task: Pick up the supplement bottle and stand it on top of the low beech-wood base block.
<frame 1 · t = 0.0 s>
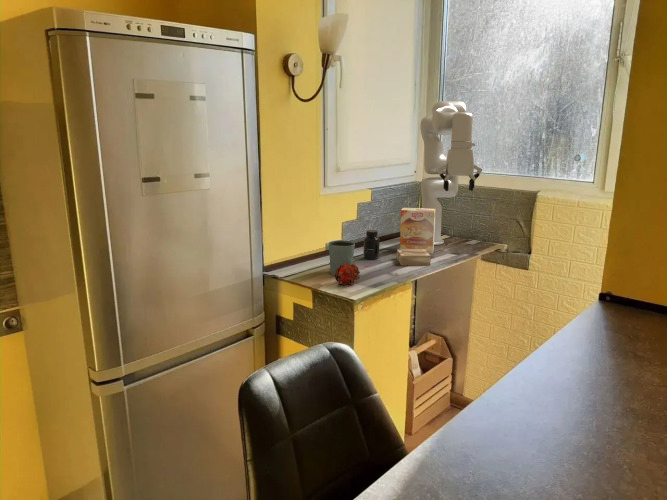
hand: (458, 190, 204), 31 cm above the countertop, tool pointing down, fingers open, 9 cm apart
coffeecake box: (416, 251, 238), on the countertop
dragon fruit: (346, 284, 190), on the countertop
base: (413, 261, 220), on the countertop
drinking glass: (341, 273, 205), on the countertop
supplement bottle: (371, 258, 226), on the countertop
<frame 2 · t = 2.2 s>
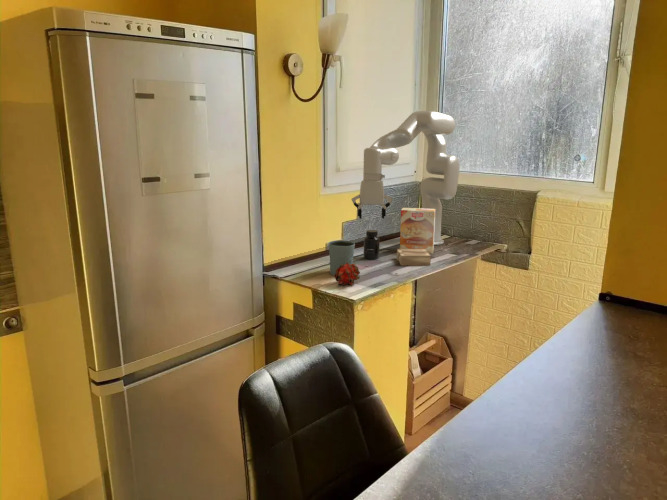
hand: (371, 218, 222), 18 cm above the countertop, tool pointing down, fingers open, 9 cm apart
nothing on the countertop moved.
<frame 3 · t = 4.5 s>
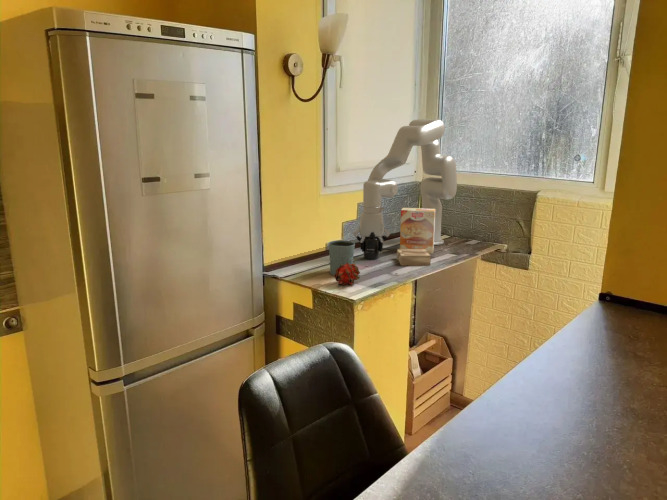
hand: (371, 250, 226), 3 cm above the countertop, tool pointing down, fingers closed on supplement bottle, 6 cm apart
supplement bottle: (371, 258, 226), on the countertop, touching gripper
everything else where it was.
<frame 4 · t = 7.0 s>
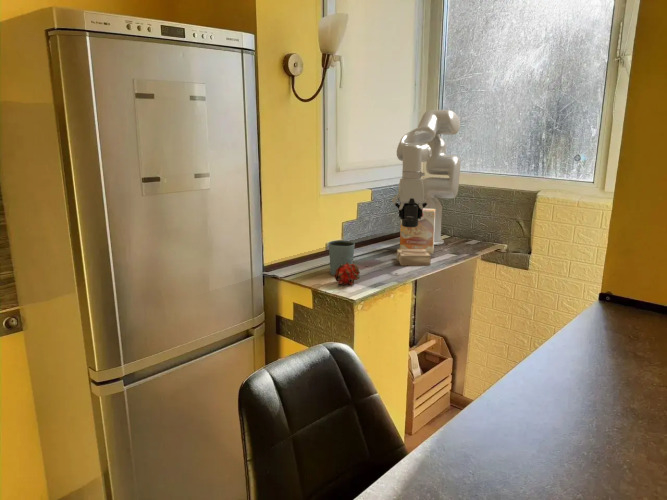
hand: (410, 218, 217), 18 cm above the countertop, tool pointing down, fingers closed on supplement bottle, 6 cm apart
supplement bottle: (410, 226, 217), point 15 cm above the countertop, touching gripper
everything else where it was.
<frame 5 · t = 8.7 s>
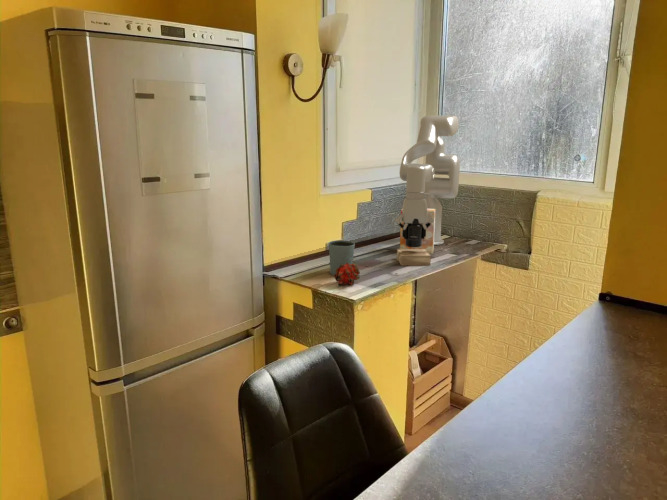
hand: (413, 238, 218), 10 cm above the countertop, tool pointing down, fingers closed on supplement bottle, 6 cm apart
supplement bottle: (413, 246, 218), point 7 cm above the countertop, touching gripper
everything else where it was.
when the fingers open (9 cm above the countertop, at t = 10.0 s): supplement bottle drops 1 cm, resting on base.
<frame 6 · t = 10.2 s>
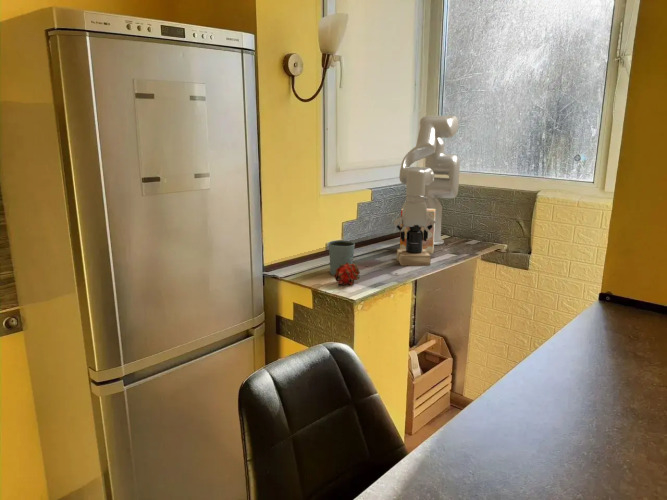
hand: (413, 240, 218), 9 cm above the countertop, tool pointing down, fingers open, 8 cm apart
supplement bottle: (414, 252, 219), point 4 cm above the countertop, touching base
everything else where it was.
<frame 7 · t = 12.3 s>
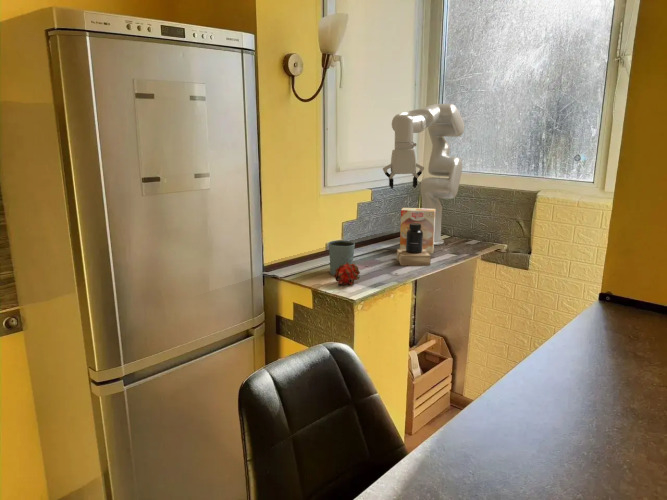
hand: (403, 187, 220), 30 cm above the countertop, tool pointing down, fingers open, 9 cm apart
nothing on the countertop moved.
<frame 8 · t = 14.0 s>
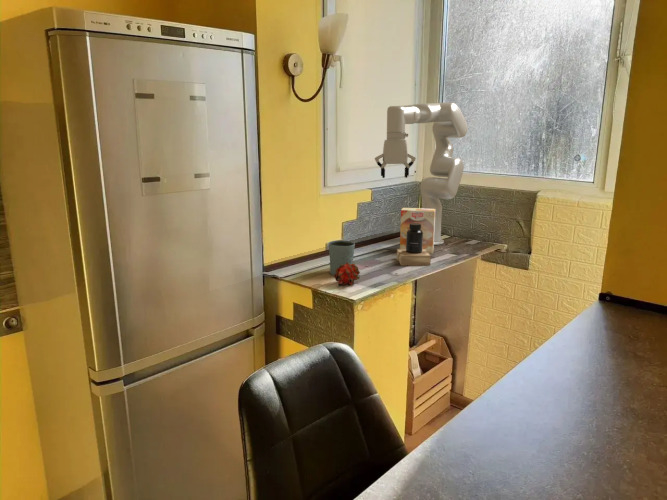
hand: (394, 177, 222), 34 cm above the countertop, tool pointing down, fingers open, 9 cm apart
nothing on the countertop moved.
at the end: supplement bottle 0.3 cm from the base (horizontally); supplement bottle point 4.0 cm above the countertop; supplement bottle tilted 0° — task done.
